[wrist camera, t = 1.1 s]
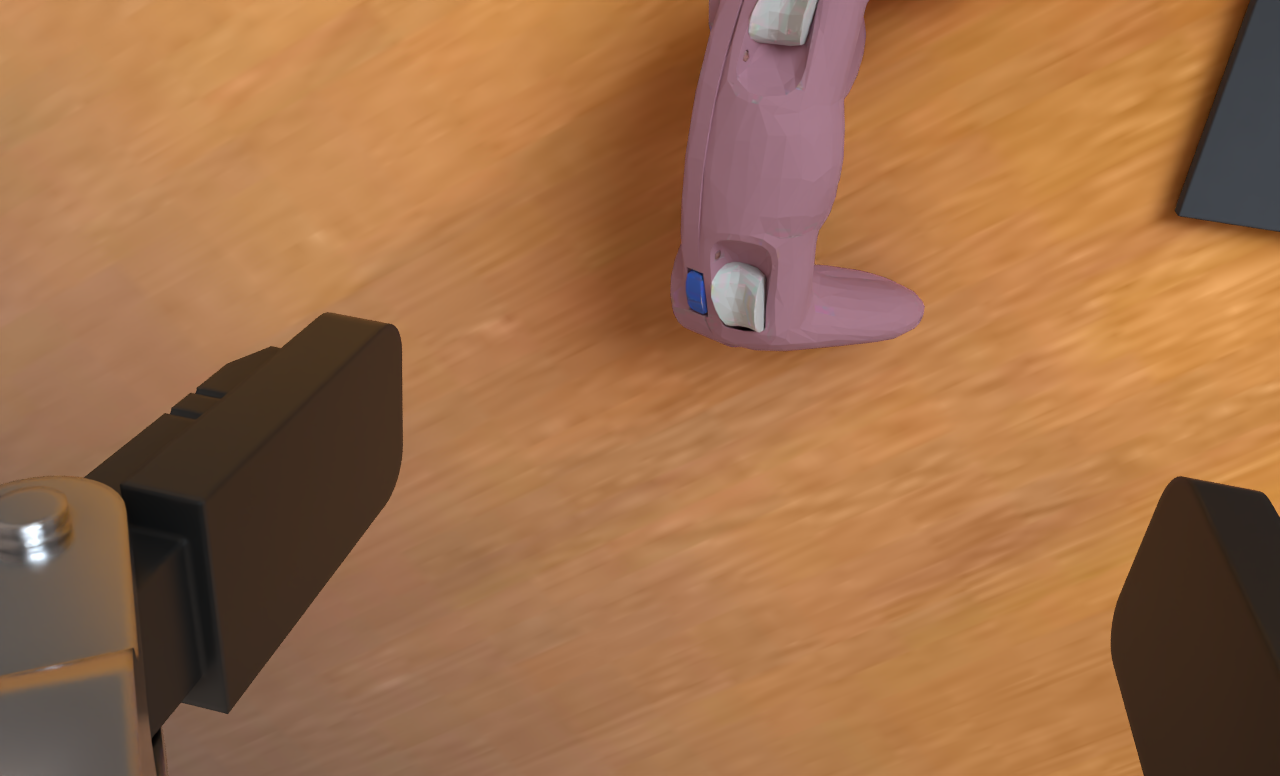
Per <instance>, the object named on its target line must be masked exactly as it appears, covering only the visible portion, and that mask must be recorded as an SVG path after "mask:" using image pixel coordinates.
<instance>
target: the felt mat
mask: <svg viewBox="0 0 1280 776" xmlns="http://www.w3.org/2000/svg"><path fill="white" fill-rule="evenodd" d="M1175 212H1176V213H1177V215H1178V216H1181V217H1188V218H1194V219H1200V220H1207V221H1213V222H1220V223H1226V224H1233V225H1239V226H1245V227H1252V228H1258V229H1265V230H1271V231H1278V232H1280V0H1250V3H1249V5H1248V8H1247V11H1246V14H1245V17H1244V19H1243V22H1242V25H1241V28H1240V30H1239V33H1238V36H1237V39H1236V41H1235V44H1234V47H1233V50H1232V53H1231V55H1230V58H1229V61H1228V64H1227V66H1226V69H1225V72H1224V75H1223V78H1222V80H1221V83H1220V86H1219V89H1218V91H1217V94H1216V97H1215V100H1214V103H1213V105H1212V108H1211V111H1210V114H1209V116H1208V119H1207V122H1206V125H1205V127H1204V130H1203V133H1202V136H1201V139H1200V141H1199V144H1198V147H1197V150H1196V152H1195V155H1194V158H1193V161H1192V164H1191V166H1190V169H1189V172H1188V175H1187V177H1186V180H1185V183H1184V186H1183V189H1182V191H1181V194H1180V197H1179V200H1178V202H1177V205H1176V208H1175Z"/></svg>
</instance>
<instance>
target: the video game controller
mask: <svg viewBox="0 0 1280 776" xmlns="http://www.w3.org/2000/svg"><path fill="white" fill-rule="evenodd" d="M868 1H869V0H709V28H710V36H709V40H708V44H707V48H706V52H705V56H704V60H703V64H702V68H701V72H700V76H699V80H698V85H697V89H696V93H695V99H694V105H693V112H692V118H691V124H690V130H689V137H688V143H687V149H686V156H685V169H684V181H683V193H682V210H681V245H680V248H679V250H678V253H677V256H676V258H675V262H674V267H673V271H672V275H671V294H670V295H671V302H672V307H673V312H674V314H675V316H676V318H677V320H678V322H679V323H680V324H681V325H682V326H683V327H685V328H687V329H689V330H691V331H694V332H696V333H699V334H701V335H703V336H706V337H708V338H710V339H713V340H715V341H717V342H720V343H722V344H724V345H727V346H730V347H743V348H748V349H752V350H765V351H791V350H802V349H813V348H823V347H834V346H844V345H853V344H862V343H871V342H878V341H883V340H889V339H894V338H896V337H898V336H900V335H902V334H904V333H906V332H908V331H910V330H912V329H914V328H915V327H916V326H917V325H918V324H919V323H920V321H921V319H922V317H923V314H924V307H925V306H924V304H923V301H922V300H921V299H920V298H919V297H918V295H917V294H916V293H915V292H914V291H912V290H910V289H908V288H906V287H904V286H902V285H900V284H897V283H896V282H894V281H891V280H889V279H887V278H885V277H882V276H878V275H875V274H872V273H868V272H864V271H861V270H854V269H847V268H840V267H833V266H826V265H814V261H815V250H816V241H817V236H818V232H819V229H820V228H821V227H822V225H823V224H824V222H825V221H826V219H827V217H828V215H829V213H830V211H831V208H832V205H833V202H834V200H835V197H836V192H837V186H838V182H839V180H840V175H841V169H842V164H843V155H844V132H845V119H844V99H845V97H846V96H847V94H848V93H849V91H850V89H851V87H852V85H853V83H854V81H855V79H856V76H857V74H858V71H859V67H860V64H861V61H862V57H863V54H864V47H865V39H866V31H865V22H864V17H863V16H864V12H865V8H866V5H867V2H868Z"/></svg>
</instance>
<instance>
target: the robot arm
mask: <svg viewBox="0 0 1280 776" xmlns="http://www.w3.org/2000/svg"><path fill="white" fill-rule="evenodd" d="M402 452H403V420H402V344H401V337H400V334H399V331H398V329H397V328H396V327H395V326H394V325H392V324H388V323H383V322H377V321H372V320H367V319H362V318H356V317H351V316H346V315H341V314H335V313H329V312H327V313H323V314H322V315H320V316H319V317H318V318H316V319H315V320H314V321H313V322H312V323H310V324H309V325H308V326H307V327H306V328H304V329H303V330H302V331H301V332H300V333H299V334H297V335H296V336H295V337H294V338H293V339H291V340H290V341H289V342H288V343H287V344H285V345H284V346H283V347H282V348H277V347H272V346H271V347H268V348H266V349H263V350H261V351H258V352H256V353H253V354H251V355H248V356H246V357H243V358H240V359H238V360H235V361H233V362H230V363H228V364H226V365H225V366H224V367H222V368H221V369H220V370H219V371H217V372H216V373H215V374H214V375H212V376H211V377H210V378H209V379H207V380H206V381H205V382H204V383H202V384H201V385H200V386H199V387H197V391H196V393H195V394H194V393H190V394H188V395H187V396H186V397H185V398H183V399H182V400H181V401H180V402H178V403H177V404H176V405H175V406H173V407H172V408H171V413H170V414H166V413H165V414H163V415H162V416H161V417H160V418H158V419H157V420H156V421H154V422H153V423H152V424H151V425H149V426H148V427H147V428H146V429H144V430H143V431H142V432H141V433H139V434H138V435H137V436H136V437H134V438H133V439H132V440H131V441H129V442H128V443H127V444H126V445H124V446H123V447H122V448H121V449H119V450H118V451H117V452H115V453H114V454H113V455H112V456H110V457H109V458H108V459H107V460H105V461H104V462H103V463H102V464H100V465H99V466H98V467H97V468H95V469H94V470H93V471H92V472H90V473H89V474H88V475H87V476H85V477H84V478H81V477H74V476H43V477H33V478H27V479H22V480H16V481H12V482H9V483H5V484H1V485H0V776H168V767H167V758H166V748H165V741H164V735H163V729H162V725H163V724H164V723H165V721H166V720H167V719H168V718H169V716H170V715H171V714H172V713H173V712H174V710H175V709H176V708H177V707H178V705H179V704H180V703H186V704H190V705H194V706H198V707H202V708H206V709H210V710H214V711H218V712H222V713H226V714H228V713H229V712H230V711H231V709H232V708H233V707H234V705H235V704H236V703H237V701H238V700H239V699H240V697H241V696H242V695H243V693H244V692H245V691H246V689H247V688H248V687H249V685H250V684H251V683H252V681H253V680H254V679H255V677H256V676H257V675H258V673H259V672H260V671H261V669H262V668H263V667H264V665H265V664H266V663H267V662H268V660H269V659H270V658H271V656H272V655H273V654H274V652H275V651H276V650H277V648H278V647H279V646H280V644H281V643H282V642H283V640H284V639H285V638H286V636H287V635H288V634H289V632H290V631H291V630H292V628H293V627H294V626H295V624H296V623H297V622H298V620H299V619H300V618H301V616H302V615H303V614H304V612H305V611H306V610H307V608H308V607H309V606H310V604H311V603H312V602H313V600H314V599H315V598H316V596H317V595H318V594H319V592H320V591H321V590H322V589H323V587H324V586H325V585H326V583H327V582H328V581H329V579H330V578H331V577H332V575H333V574H334V573H335V571H336V570H337V569H338V567H339V566H340V565H341V563H342V562H343V561H344V559H345V558H346V557H347V555H348V554H349V553H350V551H351V550H352V549H353V547H354V546H355V545H356V543H357V542H358V541H359V539H360V538H361V537H362V535H363V534H364V533H365V531H366V530H367V529H368V527H369V526H370V525H371V523H372V522H373V521H374V519H375V518H376V517H377V515H378V514H379V513H380V512H381V510H382V509H383V508H384V506H385V505H386V503H387V502H388V500H389V498H390V496H391V494H392V492H393V490H394V487H395V485H396V482H397V479H398V475H399V471H400V467H401V461H402ZM1111 654H1112V661H1113V665H1114V669H1115V672H1116V676H1117V680H1118V683H1119V687H1120V690H1121V694H1122V698H1123V701H1124V705H1125V709H1126V712H1127V716H1128V720H1129V723H1130V727H1131V730H1132V734H1133V738H1134V741H1135V745H1136V749H1137V752H1138V756H1139V760H1140V763H1141V767H1142V770H1143V774H1144V776H1280V517H1279V516H1278V514H1277V512H1276V510H1275V509H1274V507H1273V505H1272V503H1271V502H1270V500H1269V499H1268V497H1267V496H1266V495H1265V494H1264V493H1262V492H1260V491H1256V490H1250V489H1245V488H1240V487H1235V486H1229V485H1224V484H1219V483H1214V482H1208V481H1203V480H1198V479H1193V478H1187V477H1182V476H1180V477H1176V478H1174V479H1173V480H1172V481H1171V482H1170V483H1169V484H1168V485H1167V487H1166V488H1165V490H1164V492H1163V493H1162V495H1161V498H1160V500H1159V502H1158V504H1157V507H1156V509H1155V512H1154V514H1153V516H1152V519H1151V521H1150V524H1149V526H1148V528H1147V531H1146V533H1145V536H1144V538H1143V540H1142V543H1141V545H1140V548H1139V550H1138V552H1137V555H1136V557H1135V560H1134V562H1133V564H1132V567H1131V569H1130V571H1129V574H1128V576H1127V579H1126V581H1125V583H1124V586H1123V588H1122V591H1121V593H1120V595H1119V598H1118V601H1117V604H1116V608H1115V611H1114V616H1113V622H1112V630H1111Z"/></svg>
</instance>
